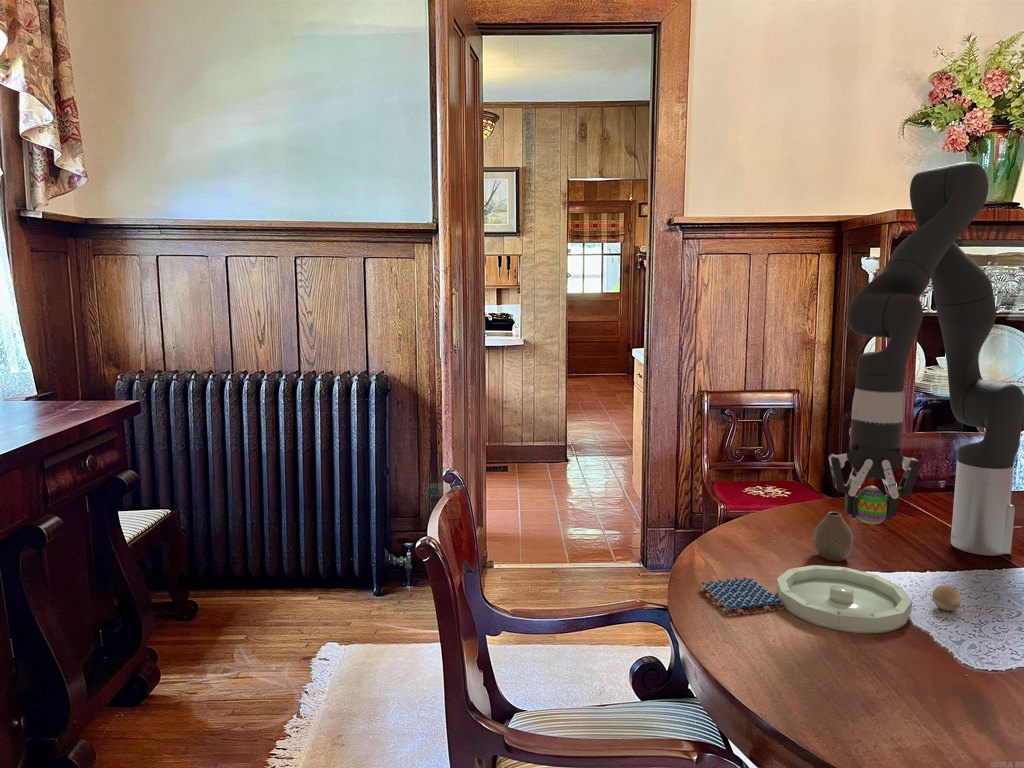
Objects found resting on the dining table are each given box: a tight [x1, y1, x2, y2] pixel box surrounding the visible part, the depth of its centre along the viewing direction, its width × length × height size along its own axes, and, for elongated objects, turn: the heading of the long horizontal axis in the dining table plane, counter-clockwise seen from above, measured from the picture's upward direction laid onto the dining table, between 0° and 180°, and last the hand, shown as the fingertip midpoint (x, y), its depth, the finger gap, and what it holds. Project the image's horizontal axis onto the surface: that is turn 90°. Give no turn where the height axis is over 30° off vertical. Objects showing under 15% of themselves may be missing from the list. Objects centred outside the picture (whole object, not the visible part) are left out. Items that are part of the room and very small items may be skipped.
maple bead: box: [931, 584, 962, 612], centre depth 116 cm, size 4×4×4 cm
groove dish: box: [776, 564, 913, 634], centre depth 119 cm, size 20×20×3 cm
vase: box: [813, 511, 854, 562], centre depth 138 cm, size 7×7×9 cm
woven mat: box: [699, 576, 785, 617], centre depth 121 cm, size 10×11×2 cm
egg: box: [856, 485, 887, 525], centre depth 119 cm, size 5×5×6 cm
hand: (869, 517), depth 119 cm, fingers closed on egg, 5 cm apart
